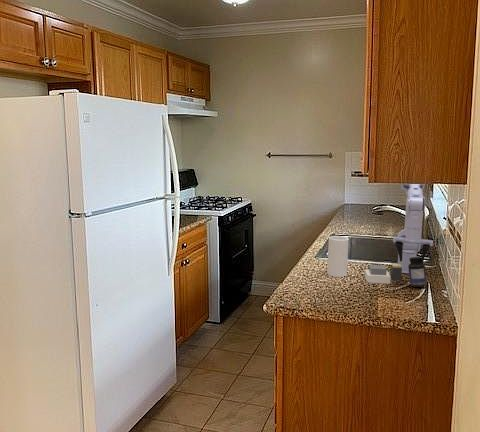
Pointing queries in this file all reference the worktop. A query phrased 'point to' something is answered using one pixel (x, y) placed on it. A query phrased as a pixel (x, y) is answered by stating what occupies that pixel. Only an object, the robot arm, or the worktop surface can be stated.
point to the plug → (396, 272)
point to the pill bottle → (417, 272)
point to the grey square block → (377, 269)
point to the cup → (337, 256)
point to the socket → (377, 278)
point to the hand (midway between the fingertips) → (411, 262)
